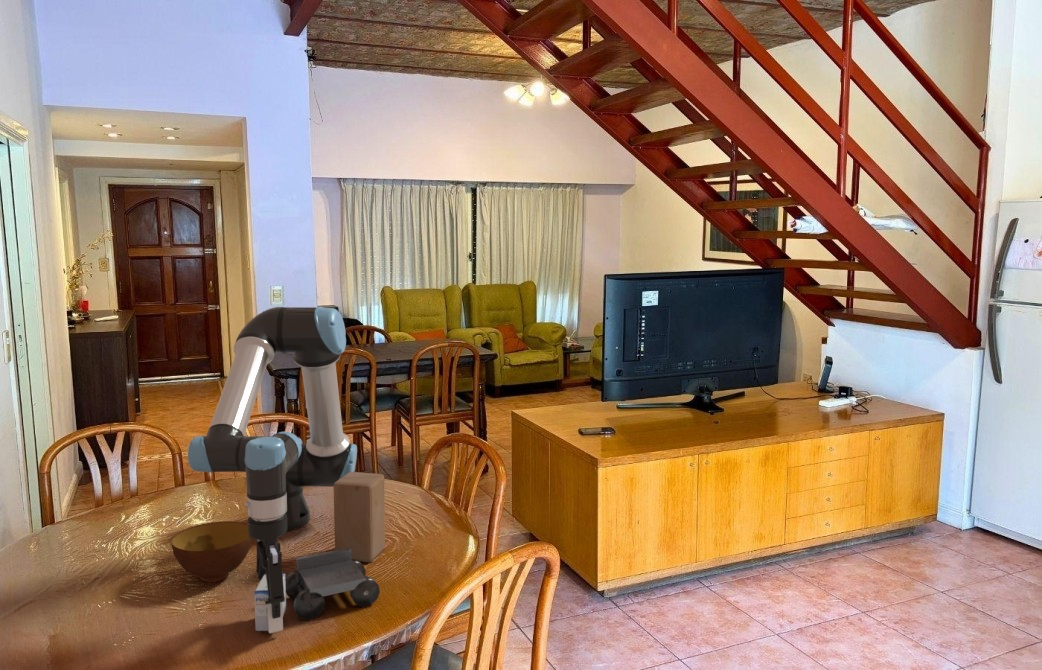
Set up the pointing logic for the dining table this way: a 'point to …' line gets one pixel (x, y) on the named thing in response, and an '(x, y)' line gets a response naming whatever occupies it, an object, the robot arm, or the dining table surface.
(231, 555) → the bowl
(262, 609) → the medicine box
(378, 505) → the wooden block
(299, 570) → the trolley
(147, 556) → the dining table surface
